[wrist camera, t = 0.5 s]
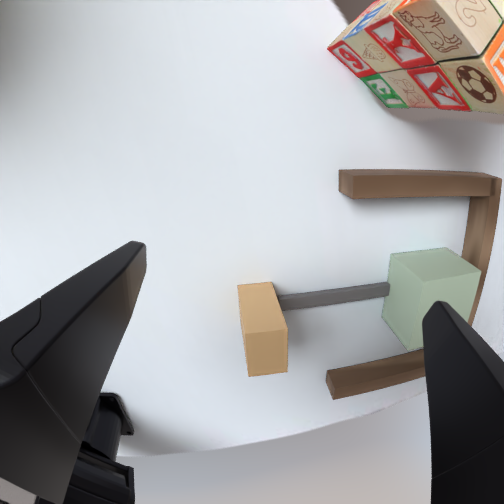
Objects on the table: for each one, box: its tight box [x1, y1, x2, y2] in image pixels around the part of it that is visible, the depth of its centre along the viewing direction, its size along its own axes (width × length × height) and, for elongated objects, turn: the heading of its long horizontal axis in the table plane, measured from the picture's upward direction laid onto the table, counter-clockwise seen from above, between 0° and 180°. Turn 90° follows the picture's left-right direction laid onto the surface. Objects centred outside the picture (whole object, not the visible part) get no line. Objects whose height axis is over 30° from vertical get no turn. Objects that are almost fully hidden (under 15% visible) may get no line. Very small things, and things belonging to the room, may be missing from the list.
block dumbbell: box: [238, 248, 481, 377], centre depth 22 cm, size 6×18×6 cm, turn 93°
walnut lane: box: [326, 169, 502, 400], centre depth 24 cm, size 20×14×2 cm
